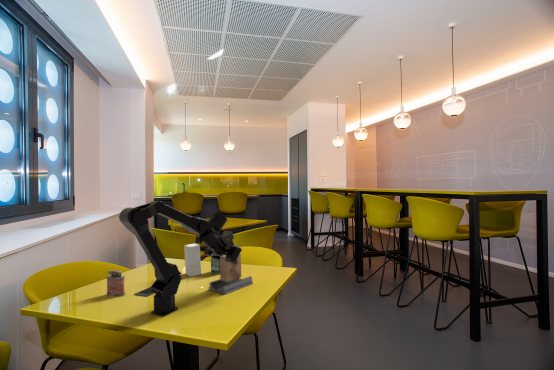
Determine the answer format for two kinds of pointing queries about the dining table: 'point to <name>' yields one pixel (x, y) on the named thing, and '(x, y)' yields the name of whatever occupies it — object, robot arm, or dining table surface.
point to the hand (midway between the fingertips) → (233, 262)
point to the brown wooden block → (229, 269)
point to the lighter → (115, 283)
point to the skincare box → (192, 259)
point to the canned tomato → (215, 266)
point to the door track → (229, 285)
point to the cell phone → (144, 292)
